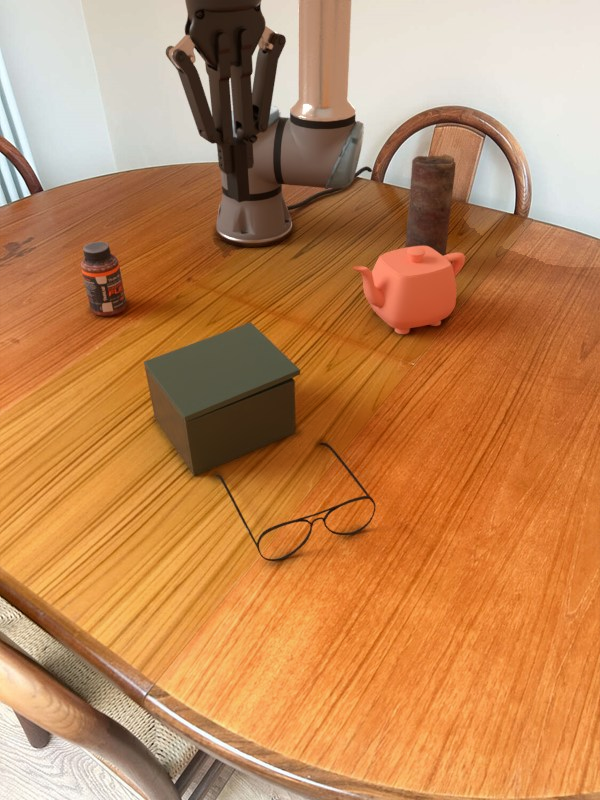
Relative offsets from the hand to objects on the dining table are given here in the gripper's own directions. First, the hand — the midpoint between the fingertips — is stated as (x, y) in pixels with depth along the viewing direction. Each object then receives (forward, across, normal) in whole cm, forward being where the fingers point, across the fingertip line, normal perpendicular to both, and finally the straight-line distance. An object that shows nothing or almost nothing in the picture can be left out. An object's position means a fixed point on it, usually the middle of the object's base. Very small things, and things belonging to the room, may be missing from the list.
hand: (238, 196), depth 78 cm
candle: (+28, +43, +12) cm, 53 cm away
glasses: (+27, -8, -23) cm, 37 cm away
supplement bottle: (+28, -11, +30) cm, 42 cm away
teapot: (+28, +29, 0) cm, 40 cm away
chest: (+27, -8, -7) cm, 29 cm away
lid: (+18, -8, -7) cm, 21 cm away
